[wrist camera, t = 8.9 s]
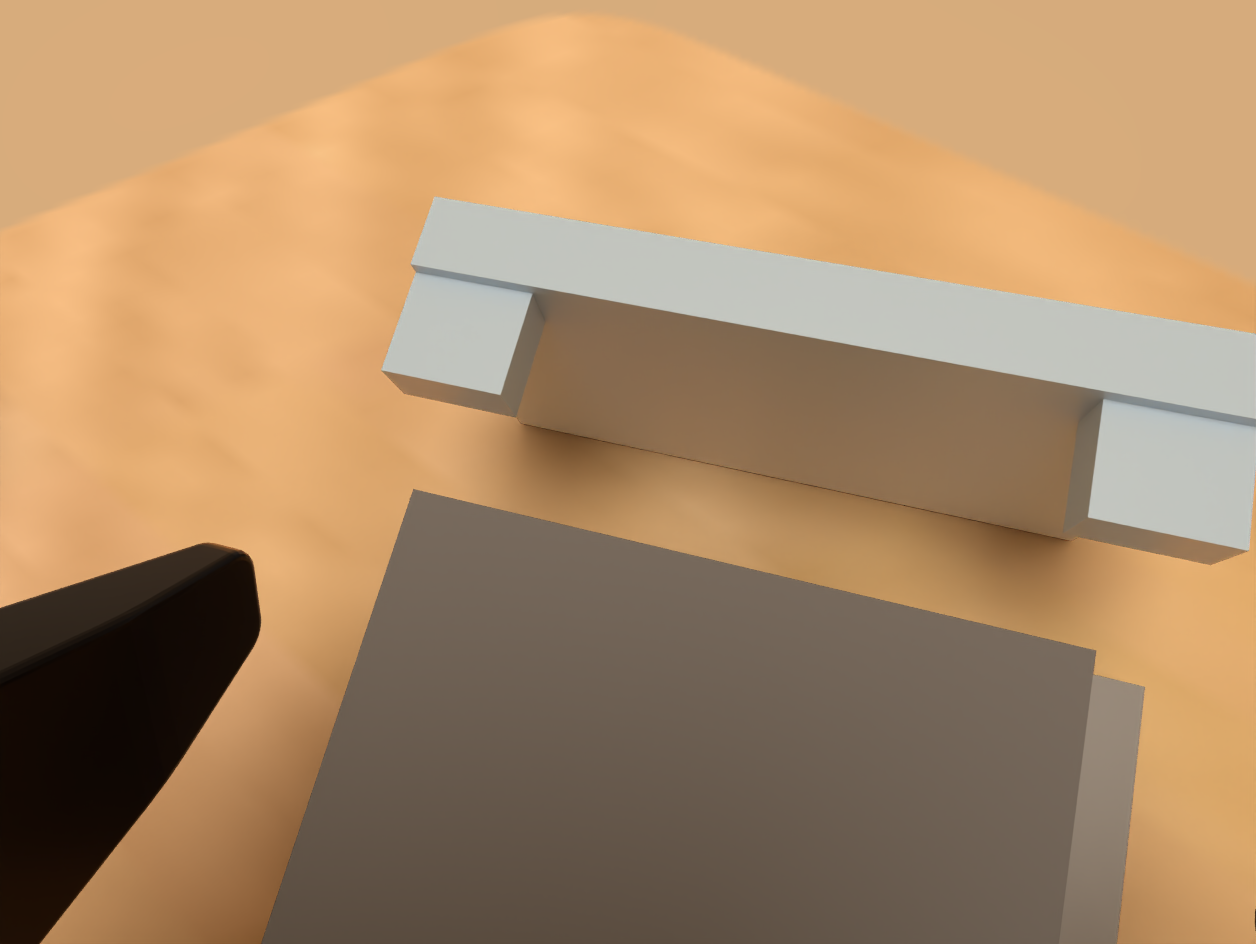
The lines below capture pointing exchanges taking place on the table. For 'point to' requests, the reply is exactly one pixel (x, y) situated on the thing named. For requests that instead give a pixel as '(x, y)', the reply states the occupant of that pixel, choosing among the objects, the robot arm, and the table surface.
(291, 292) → the table surface
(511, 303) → the rails
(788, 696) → the grey tall block
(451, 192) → the table surface
